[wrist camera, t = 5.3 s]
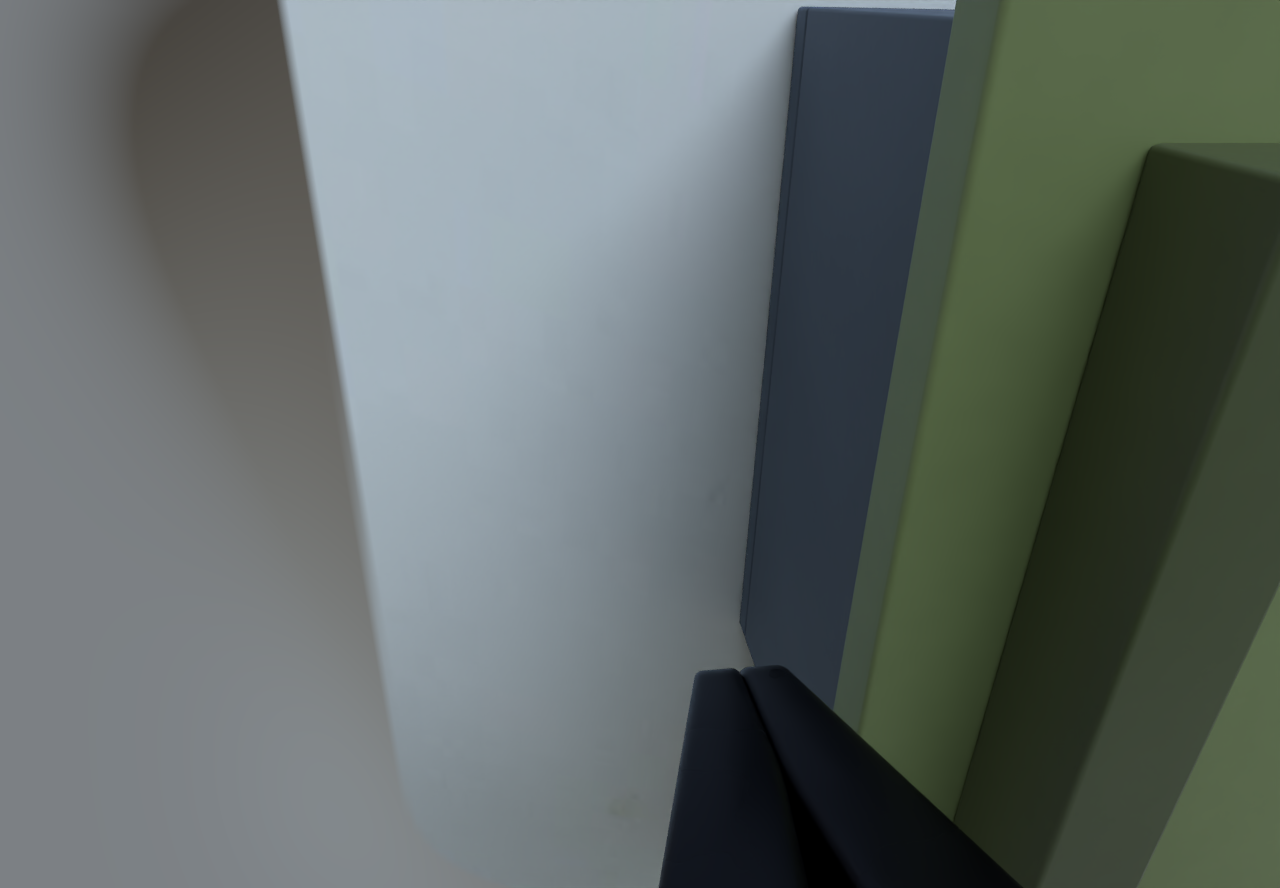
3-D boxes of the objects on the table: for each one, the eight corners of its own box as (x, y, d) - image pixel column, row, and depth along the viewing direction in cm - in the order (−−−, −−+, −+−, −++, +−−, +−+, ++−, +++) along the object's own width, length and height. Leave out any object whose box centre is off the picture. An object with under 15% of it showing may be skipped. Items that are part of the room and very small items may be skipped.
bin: (738, 622, 18) (841, 915, 12) (797, 6, 12) (1031, 20, 7) (1312, 581, 20) (1638, 824, 14) (1588, 22, 14) (2313, 44, 8)
